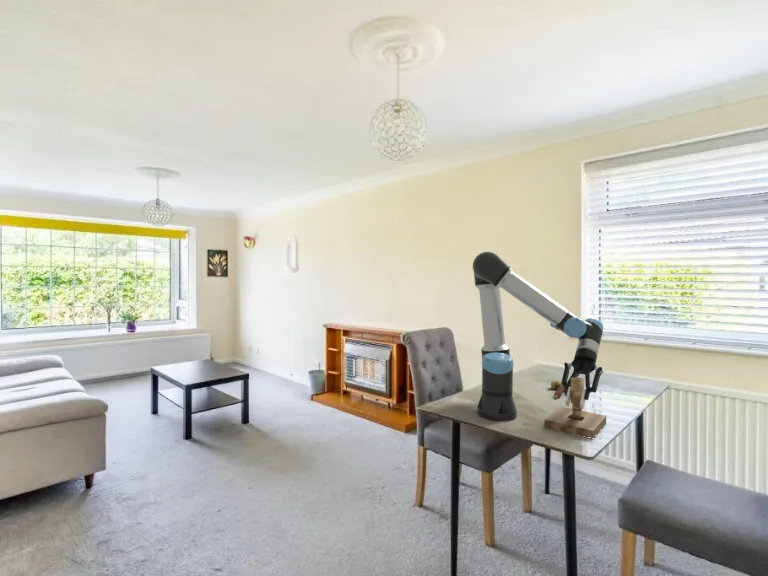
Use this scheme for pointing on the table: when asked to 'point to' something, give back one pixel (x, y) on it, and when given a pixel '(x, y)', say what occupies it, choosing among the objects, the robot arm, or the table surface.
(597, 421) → the board
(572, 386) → the peg
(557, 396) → the gavel
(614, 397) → the table surface
